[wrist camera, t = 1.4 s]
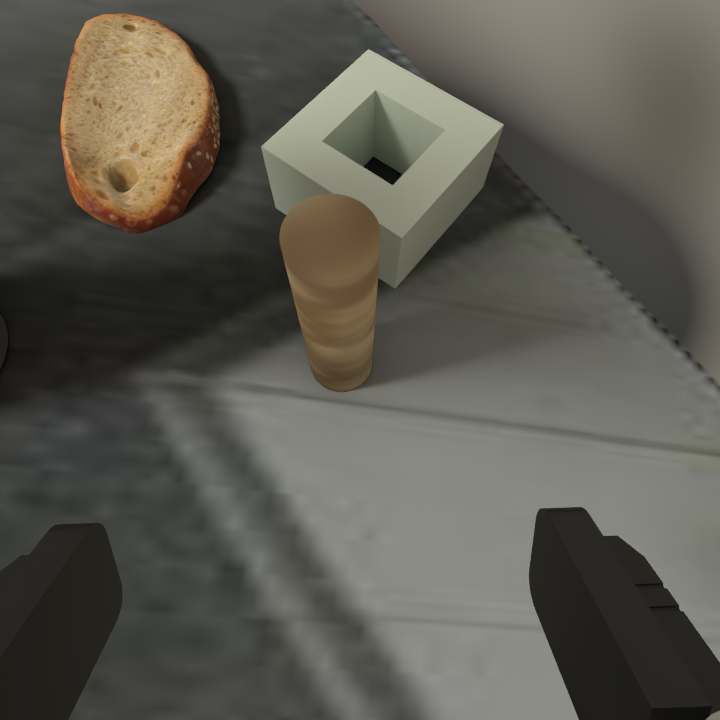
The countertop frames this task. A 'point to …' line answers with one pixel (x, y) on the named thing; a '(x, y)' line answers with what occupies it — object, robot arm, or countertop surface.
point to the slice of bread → (136, 122)
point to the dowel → (334, 285)
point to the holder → (386, 156)
